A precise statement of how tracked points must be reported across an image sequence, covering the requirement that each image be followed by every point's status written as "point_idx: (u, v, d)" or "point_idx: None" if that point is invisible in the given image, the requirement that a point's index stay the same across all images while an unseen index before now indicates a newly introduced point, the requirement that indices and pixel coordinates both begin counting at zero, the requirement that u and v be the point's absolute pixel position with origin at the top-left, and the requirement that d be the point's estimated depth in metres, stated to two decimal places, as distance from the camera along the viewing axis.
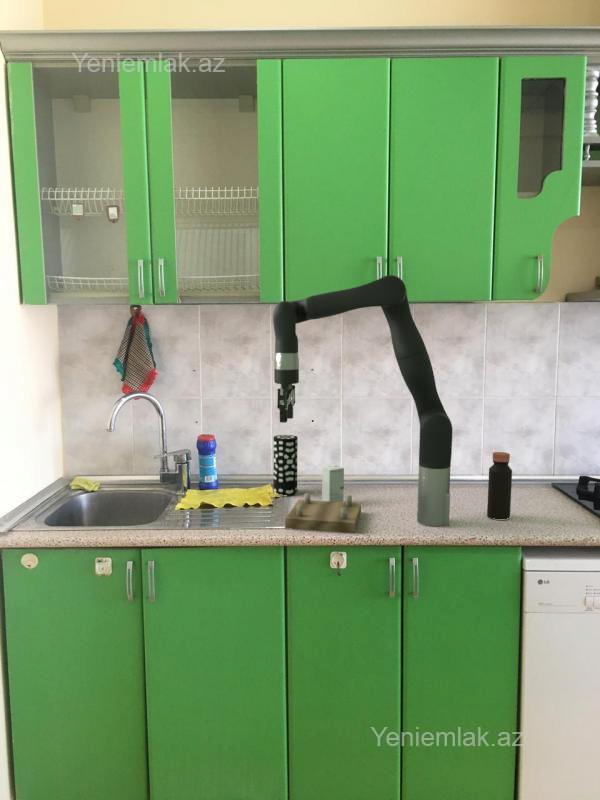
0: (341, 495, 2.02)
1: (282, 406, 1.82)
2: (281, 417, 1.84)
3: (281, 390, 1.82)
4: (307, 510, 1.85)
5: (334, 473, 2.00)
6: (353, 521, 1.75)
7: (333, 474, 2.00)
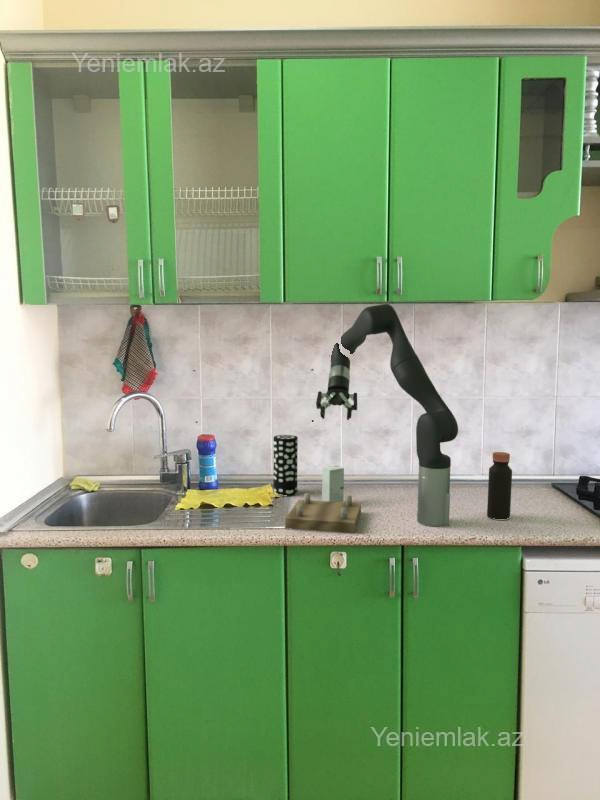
0: (341, 495, 2.02)
1: None
2: None
3: None
4: (307, 510, 1.85)
5: (334, 473, 2.00)
6: (353, 521, 1.75)
7: (333, 474, 2.00)
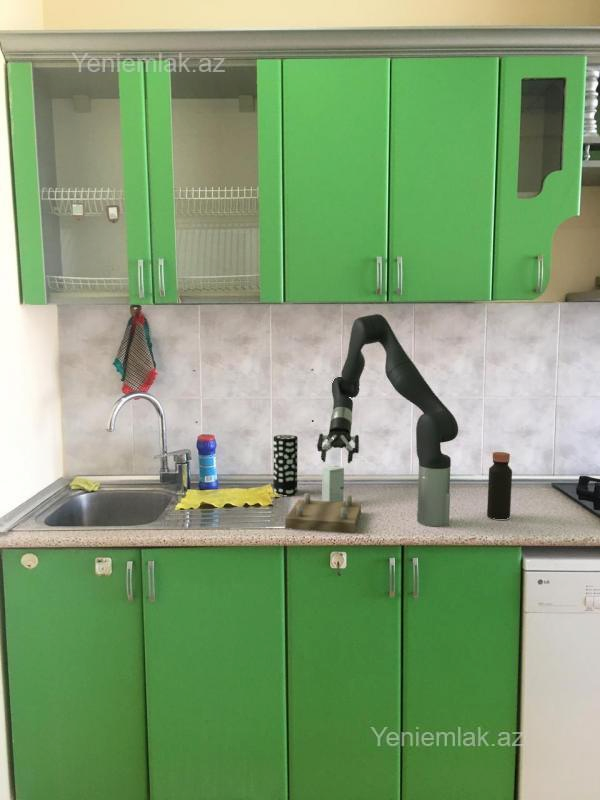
0: (341, 495, 2.02)
1: None
2: None
3: None
4: (307, 510, 1.85)
5: (334, 473, 2.00)
6: (353, 521, 1.75)
7: (333, 474, 2.00)
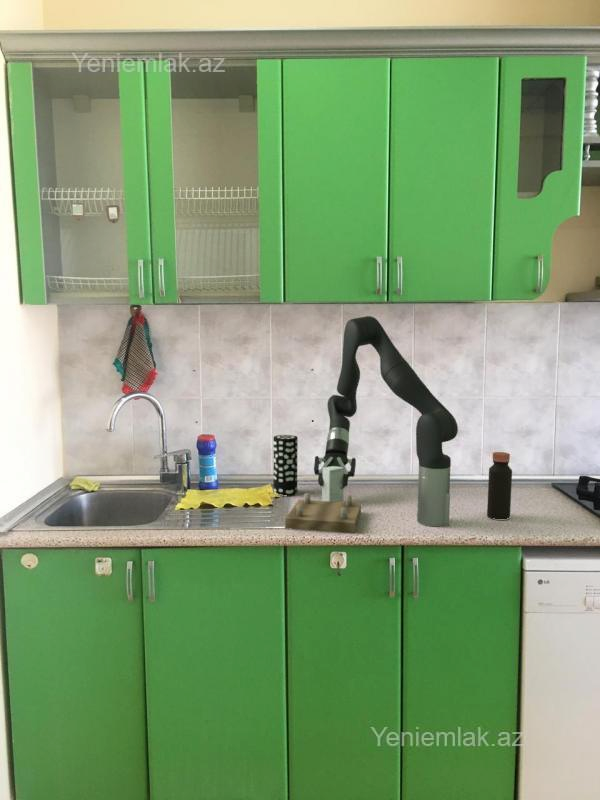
0: (341, 495, 2.02)
1: None
2: None
3: None
4: (307, 510, 1.85)
5: (334, 473, 2.00)
6: (353, 521, 1.75)
7: (333, 474, 2.00)
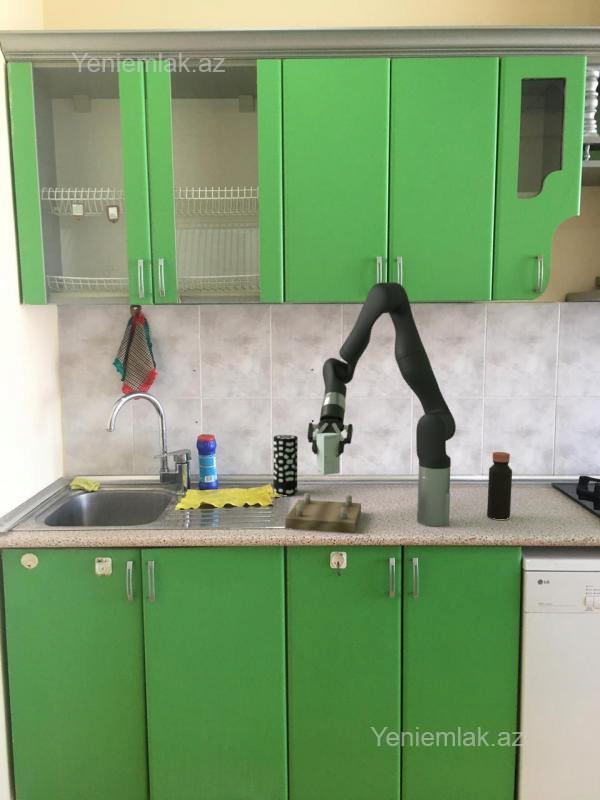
0: (337, 463, 1.87)
1: None
2: None
3: None
4: (307, 510, 1.85)
5: (329, 439, 1.85)
6: (353, 521, 1.75)
7: (328, 440, 1.85)
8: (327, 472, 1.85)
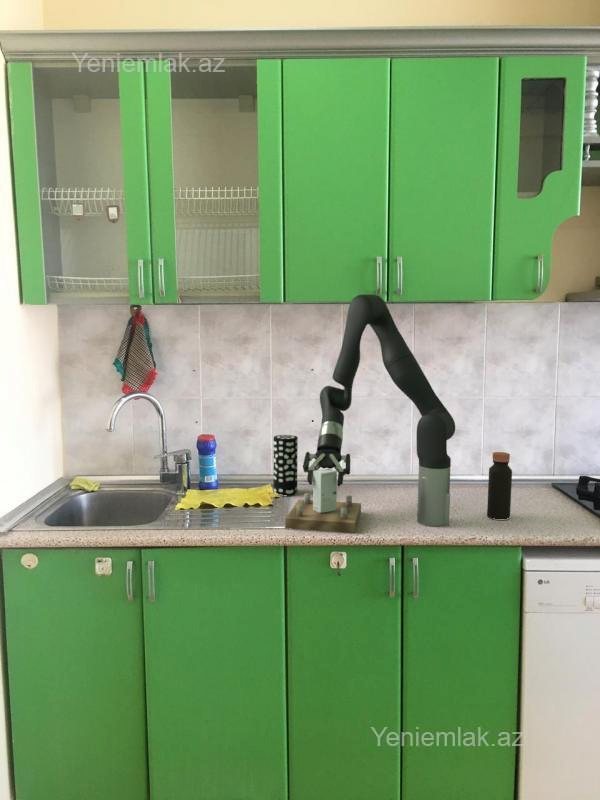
0: (334, 501, 1.84)
1: None
2: None
3: None
4: (307, 510, 1.85)
5: (326, 476, 1.82)
6: (353, 521, 1.75)
7: (325, 477, 1.82)
8: (324, 510, 1.83)
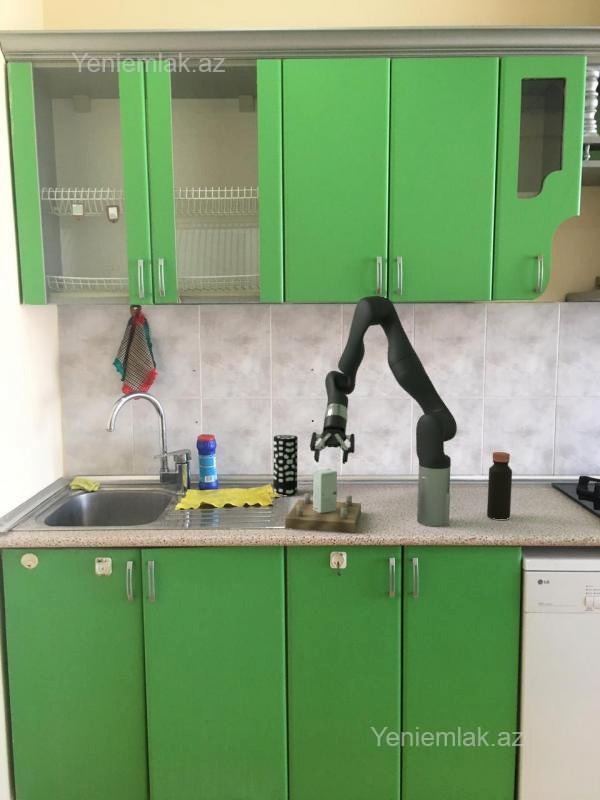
0: (334, 501, 1.84)
1: None
2: None
3: None
4: (307, 510, 1.85)
5: (326, 476, 1.82)
6: (353, 521, 1.75)
7: (325, 478, 1.82)
8: (324, 510, 1.83)
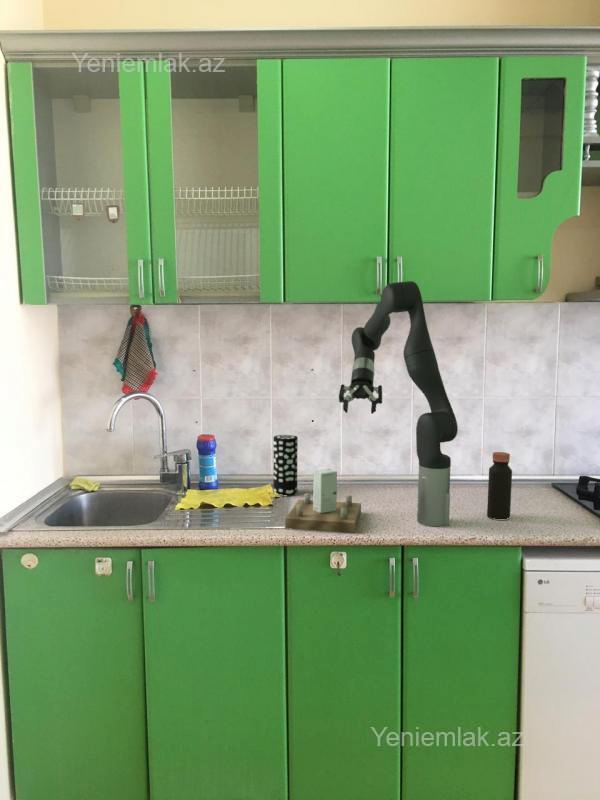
0: (334, 501, 1.84)
1: None
2: None
3: None
4: (307, 510, 1.85)
5: (326, 476, 1.82)
6: (353, 521, 1.75)
7: (325, 478, 1.82)
8: (324, 510, 1.83)
